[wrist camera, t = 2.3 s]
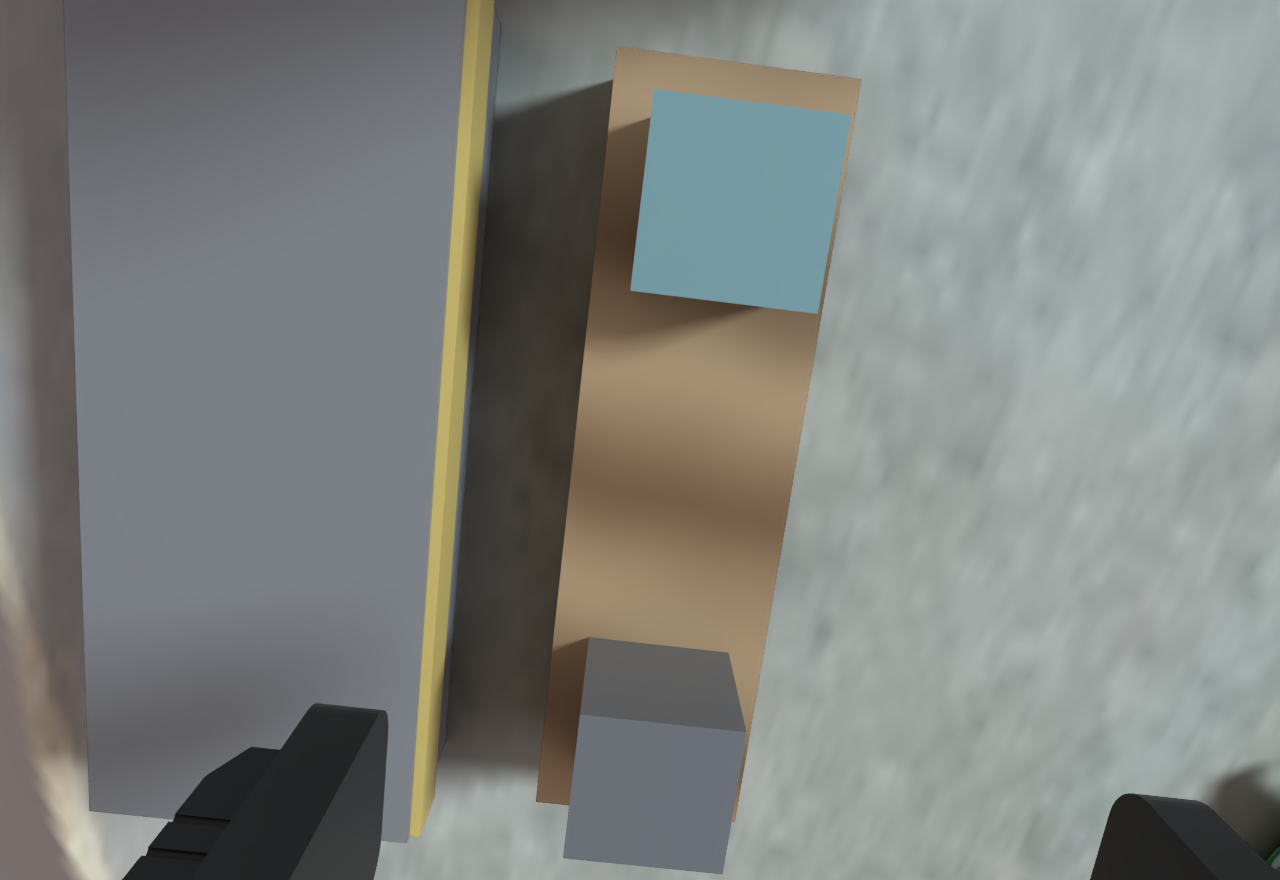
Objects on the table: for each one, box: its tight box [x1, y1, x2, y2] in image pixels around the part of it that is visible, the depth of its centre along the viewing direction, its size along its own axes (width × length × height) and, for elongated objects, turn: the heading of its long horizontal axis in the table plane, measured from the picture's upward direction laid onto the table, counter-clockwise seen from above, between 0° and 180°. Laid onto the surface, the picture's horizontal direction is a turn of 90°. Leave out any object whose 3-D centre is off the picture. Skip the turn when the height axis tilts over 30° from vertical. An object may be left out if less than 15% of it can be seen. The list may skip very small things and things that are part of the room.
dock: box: [63, 0, 501, 843], centre depth 24 cm, size 9×23×5 cm, turn 173°
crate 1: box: [630, 89, 851, 314], centre depth 19 cm, size 4×4×4 cm
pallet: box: [536, 47, 862, 822], centre depth 25 cm, size 21×6×4 cm, turn 173°
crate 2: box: [563, 637, 746, 874], centre depth 22 cm, size 4×4×4 cm
